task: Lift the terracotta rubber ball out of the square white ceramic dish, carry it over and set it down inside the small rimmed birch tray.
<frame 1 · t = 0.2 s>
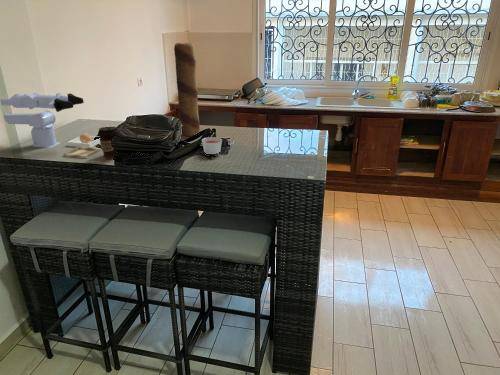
hand: (77, 102, 172), 21 cm above the table, tool horizontal, fingers open, 7 cm apart
dish: (86, 144, 186), on the table
candle: (212, 153, 177), on the table
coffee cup: (111, 157, 171), on the table
ball: (86, 143, 186), resting on dish
tray: (83, 154, 173), on the table
wafer roll: (189, 134, 205), on the table
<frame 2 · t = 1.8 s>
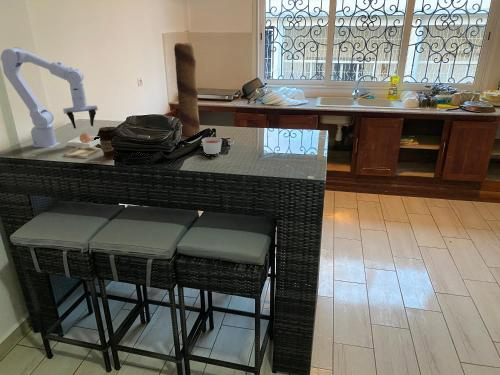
hand: (83, 126, 183), 9 cm above the table, tool pointing down, fingers open, 7 cm apart
nothing on the table moved.
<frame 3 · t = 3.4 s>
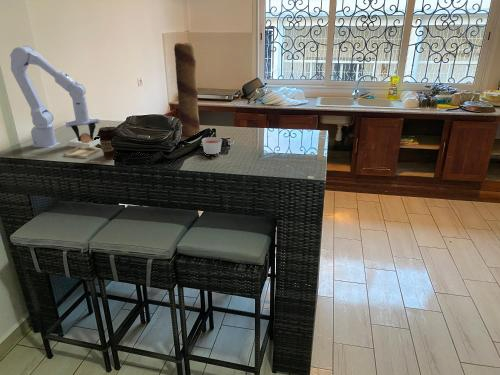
hand: (85, 140, 185), 2 cm above the table, tool pointing down, fingers closed on ball, 5 cm apart
ball: (86, 143, 186), resting on dish, touching gripper
everything else where it was.
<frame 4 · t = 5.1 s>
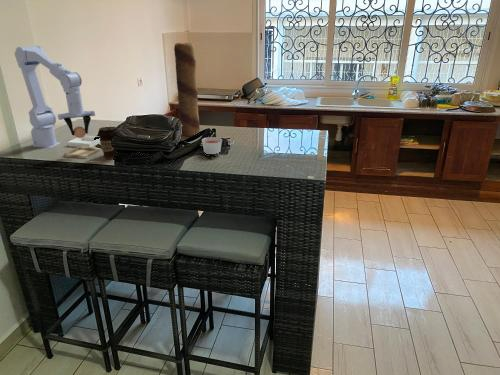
hand: (79, 133, 170), 9 cm above the table, tool pointing down, fingers closed on ball, 5 cm apart
ball: (80, 137, 171), point 7 cm above the table, touching gripper
everything else where it was.
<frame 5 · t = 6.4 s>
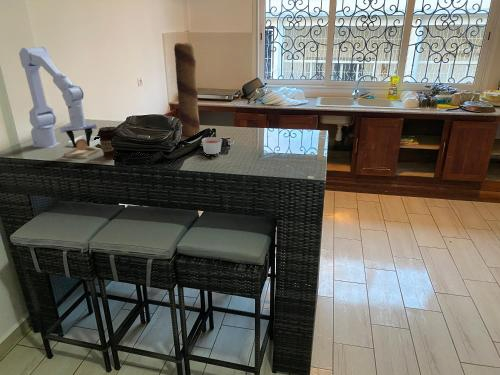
hand: (81, 146, 172), 4 cm above the table, tool pointing down, fingers closed on ball, 5 cm apart
ball: (82, 150, 173), point 2 cm above the table, touching gripper
everything else where it was.
when the fingers open (4 cm above the table, at t = 7.1 s): ball drops 1 cm, resting on tray.
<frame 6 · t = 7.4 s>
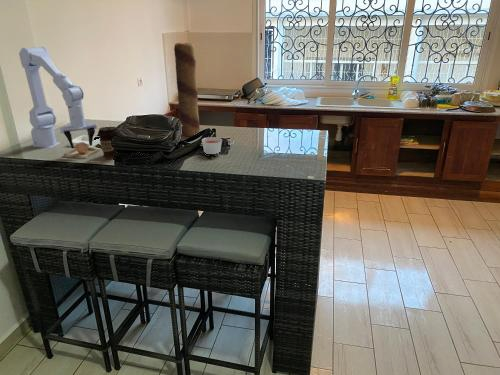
hand: (81, 146, 172), 4 cm above the table, tool pointing down, fingers open, 7 cm apart
ball: (83, 153, 173), point 1 cm above the table, touching tray
everything else where it was.
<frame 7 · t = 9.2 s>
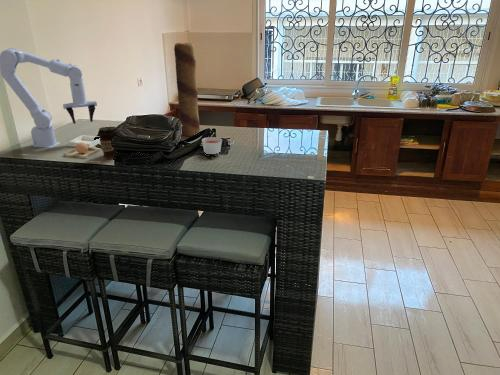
hand: (83, 122, 185), 10 cm above the table, tool pointing down, fingers open, 7 cm apart
nothing on the table moved.
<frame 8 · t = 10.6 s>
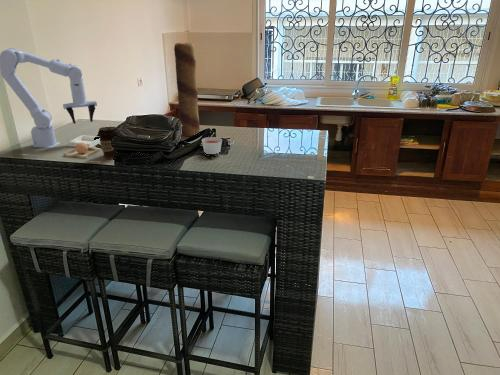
hand: (83, 122, 185), 10 cm above the table, tool pointing down, fingers open, 7 cm apart
nothing on the table moved.
at the end: ball inside the target area on the tray (0.2 cm from its centre), point 0.5 cm above the tray's base; the gripper is holding nothing; ball touching tray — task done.
